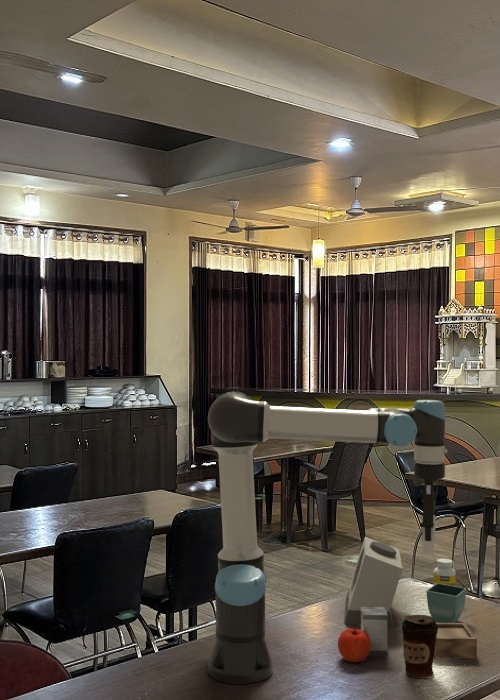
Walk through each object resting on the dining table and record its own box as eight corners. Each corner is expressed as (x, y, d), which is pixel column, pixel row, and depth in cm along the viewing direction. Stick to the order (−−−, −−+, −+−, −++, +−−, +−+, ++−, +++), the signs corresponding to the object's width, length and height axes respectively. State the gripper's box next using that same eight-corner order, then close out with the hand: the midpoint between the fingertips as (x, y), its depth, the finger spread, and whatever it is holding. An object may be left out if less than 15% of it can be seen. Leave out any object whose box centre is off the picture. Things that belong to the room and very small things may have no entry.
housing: (363, 655, 194) (363, 614, 194) (360, 646, 200) (360, 606, 200) (387, 655, 194) (387, 615, 194) (384, 646, 200) (384, 606, 200)
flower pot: (467, 619, 219) (467, 587, 219) (457, 629, 212) (457, 596, 212) (436, 614, 224) (436, 582, 224) (425, 623, 217) (425, 590, 217)
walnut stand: (431, 658, 192) (431, 638, 192) (422, 641, 203) (422, 622, 203) (476, 658, 192) (476, 638, 192) (465, 641, 203) (465, 622, 203)
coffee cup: (430, 685, 177) (430, 627, 177) (395, 676, 182) (395, 620, 181) (442, 671, 185) (443, 616, 184) (409, 663, 189) (409, 609, 189)
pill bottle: (434, 601, 235) (434, 563, 235) (432, 595, 241) (432, 557, 241) (456, 603, 234) (456, 564, 234) (454, 596, 240) (454, 558, 240)
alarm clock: (345, 600, 236) (345, 532, 236) (398, 602, 234) (398, 534, 234) (344, 624, 216) (344, 550, 216) (402, 627, 214) (402, 552, 214)
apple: (351, 650, 197) (351, 618, 197) (377, 659, 191) (377, 627, 191) (330, 659, 192) (330, 626, 192) (357, 669, 186) (357, 635, 186)
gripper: (444, 470, 184) (443, 560, 184) (445, 455, 208) (445, 536, 208) (411, 468, 186) (410, 558, 186) (416, 454, 210) (416, 534, 210)
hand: (428, 546), depth 197 cm, fingers open, 13 cm apart
